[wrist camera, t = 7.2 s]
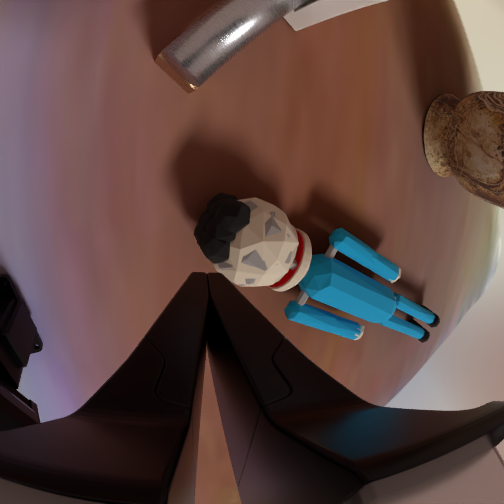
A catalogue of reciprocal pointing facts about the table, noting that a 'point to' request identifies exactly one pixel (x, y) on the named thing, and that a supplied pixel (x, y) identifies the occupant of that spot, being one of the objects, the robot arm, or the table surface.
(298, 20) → the white block
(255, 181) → the table surface
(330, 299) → the toy
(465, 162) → the vase
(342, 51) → the table surface
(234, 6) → the metal cylinder
